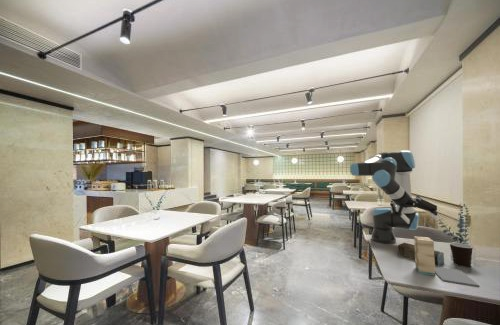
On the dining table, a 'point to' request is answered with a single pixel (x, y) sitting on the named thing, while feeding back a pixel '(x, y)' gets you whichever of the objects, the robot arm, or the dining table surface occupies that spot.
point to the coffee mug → (461, 254)
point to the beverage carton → (409, 252)
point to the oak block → (424, 255)
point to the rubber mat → (454, 276)
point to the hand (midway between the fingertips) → (422, 220)
